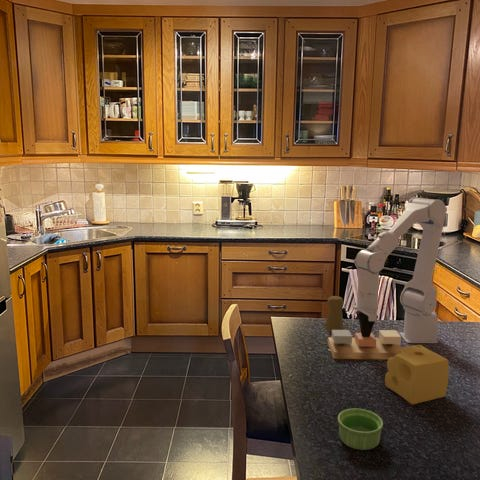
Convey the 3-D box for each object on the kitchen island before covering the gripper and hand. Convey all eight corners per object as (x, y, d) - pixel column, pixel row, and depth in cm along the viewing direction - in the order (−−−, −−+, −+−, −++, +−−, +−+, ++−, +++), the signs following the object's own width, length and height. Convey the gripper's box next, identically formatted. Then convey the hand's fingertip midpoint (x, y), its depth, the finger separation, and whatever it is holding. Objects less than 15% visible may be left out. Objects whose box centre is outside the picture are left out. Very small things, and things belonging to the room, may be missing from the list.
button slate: (348, 336, 144) (348, 329, 144) (351, 343, 139) (352, 336, 139) (331, 336, 144) (331, 329, 144) (334, 343, 139) (334, 336, 139)
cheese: (384, 386, 121) (386, 348, 120) (418, 379, 125) (421, 342, 123) (412, 406, 112) (415, 366, 110) (448, 398, 116) (452, 359, 114)
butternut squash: (330, 324, 164) (331, 293, 162) (347, 328, 161) (348, 296, 158) (321, 329, 160) (322, 297, 158) (338, 333, 156) (339, 300, 154)
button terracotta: (371, 339, 144) (372, 333, 144) (376, 346, 139) (376, 339, 139) (355, 339, 144) (355, 332, 144) (358, 346, 139) (358, 339, 139)
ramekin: (330, 442, 98) (330, 423, 97) (346, 422, 106) (347, 403, 105) (373, 458, 93) (374, 437, 92) (387, 435, 101) (388, 416, 100)
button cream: (395, 337, 144) (396, 330, 143) (400, 343, 139) (401, 336, 138) (378, 337, 144) (379, 330, 144) (383, 343, 139) (383, 336, 139)
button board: (393, 344, 147) (394, 333, 147) (404, 359, 137) (405, 348, 136) (328, 343, 148) (328, 333, 147) (333, 358, 137) (334, 347, 137)
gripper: (348, 284, 146) (347, 327, 149) (359, 299, 132) (357, 346, 134) (372, 284, 146) (370, 327, 148) (385, 299, 132) (382, 346, 134)
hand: (365, 336), depth 141 cm, fingers closed, pressing on button terracotta
